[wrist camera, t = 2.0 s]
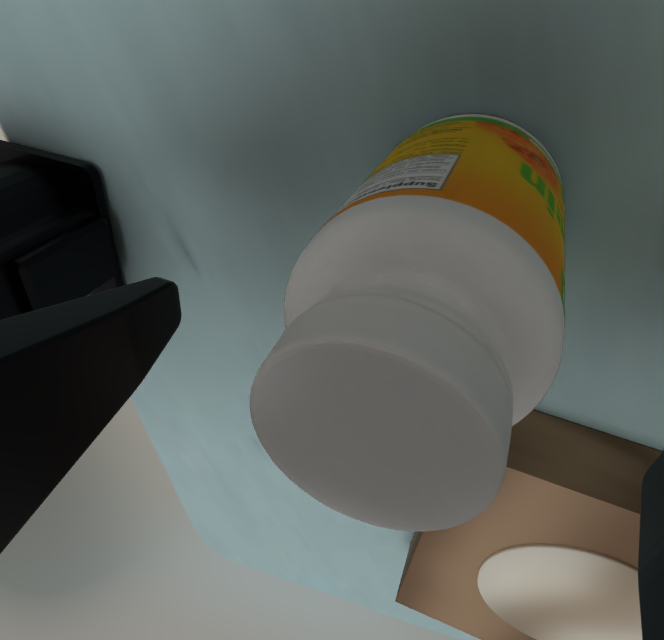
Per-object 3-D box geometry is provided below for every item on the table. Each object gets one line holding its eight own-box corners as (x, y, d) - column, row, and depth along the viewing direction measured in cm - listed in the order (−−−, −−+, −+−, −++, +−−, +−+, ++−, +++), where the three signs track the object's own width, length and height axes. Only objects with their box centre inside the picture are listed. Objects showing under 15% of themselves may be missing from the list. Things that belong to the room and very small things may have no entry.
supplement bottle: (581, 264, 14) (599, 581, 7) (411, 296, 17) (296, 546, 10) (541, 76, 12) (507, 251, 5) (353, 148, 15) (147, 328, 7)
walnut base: (410, 545, 26) (394, 605, 23) (469, 389, 18) (455, 453, 16) (654, 646, 23) (664, 725, 21) (841, 510, 16) (891, 609, 13)
